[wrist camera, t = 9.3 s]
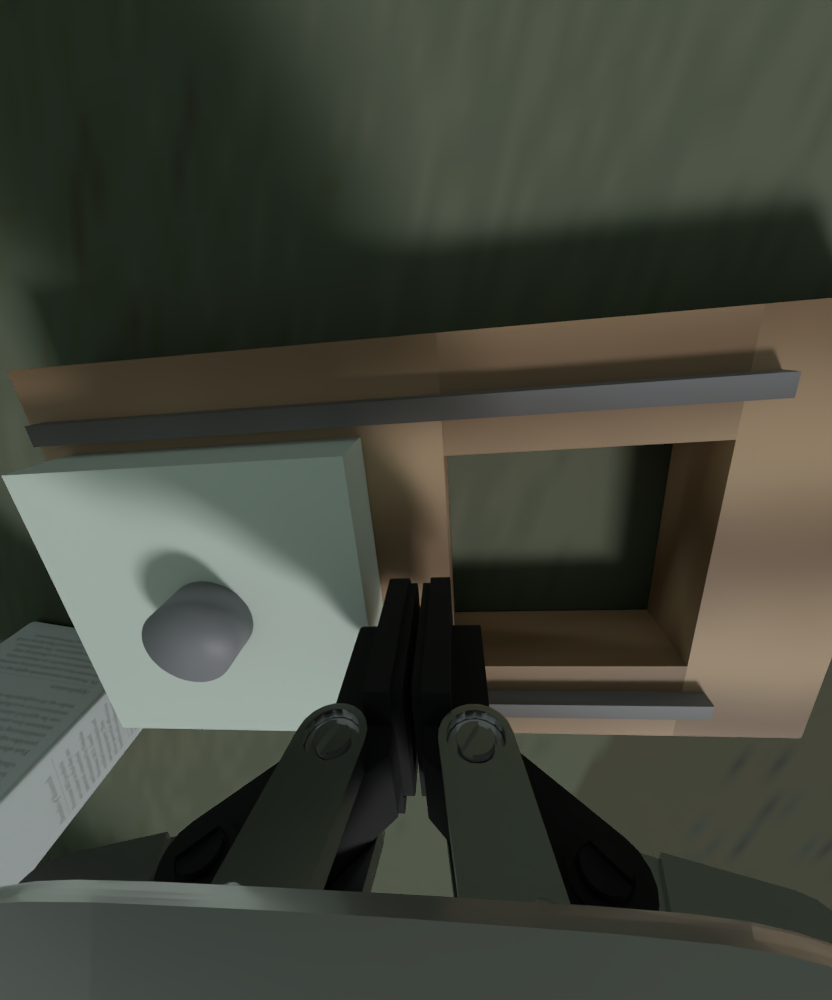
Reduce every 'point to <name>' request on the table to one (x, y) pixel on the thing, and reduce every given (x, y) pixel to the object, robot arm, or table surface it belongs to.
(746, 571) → the brown wooden sliding box
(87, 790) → the skincare box
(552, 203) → the table surface
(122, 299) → the table surface
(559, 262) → the table surface
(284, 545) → the lid
